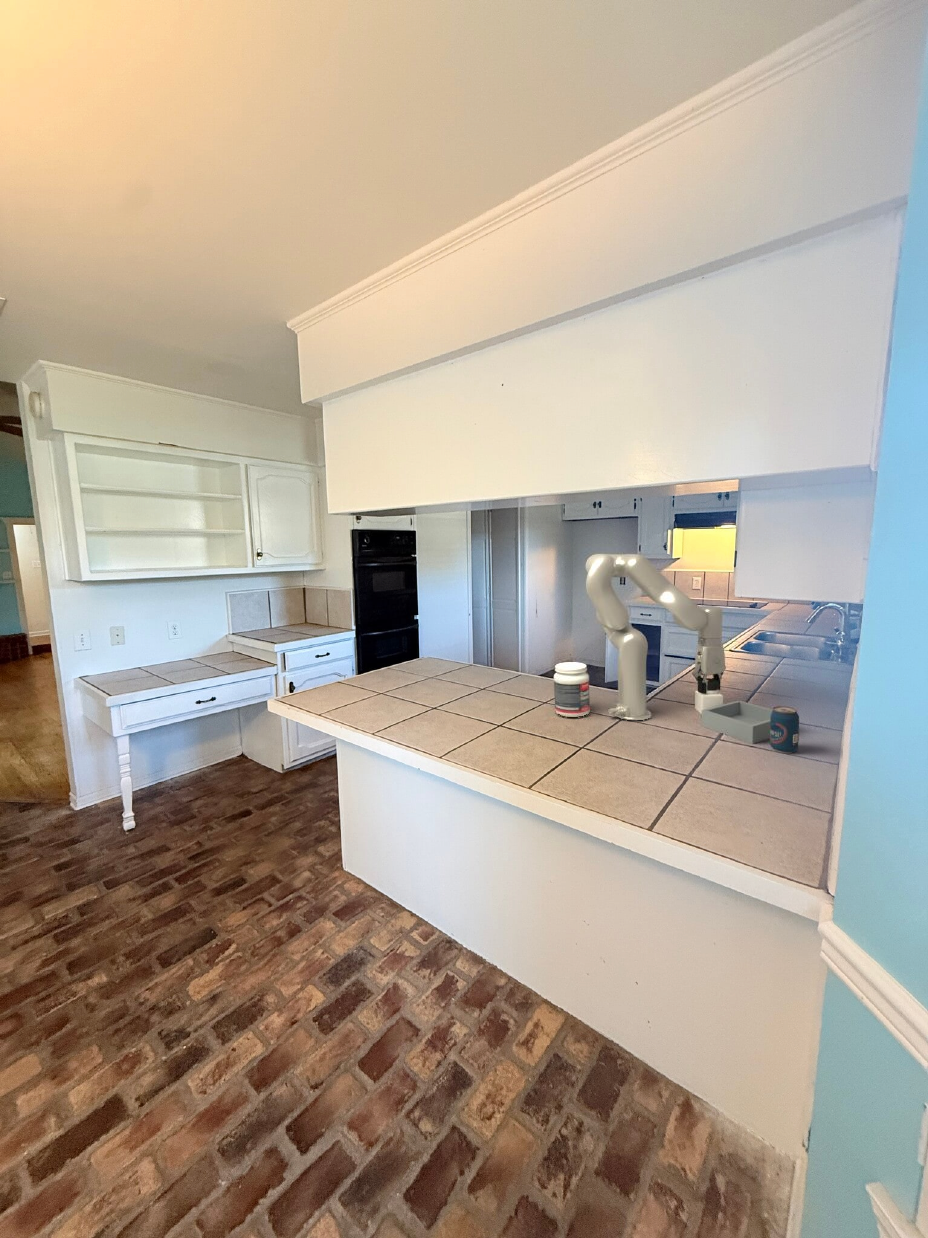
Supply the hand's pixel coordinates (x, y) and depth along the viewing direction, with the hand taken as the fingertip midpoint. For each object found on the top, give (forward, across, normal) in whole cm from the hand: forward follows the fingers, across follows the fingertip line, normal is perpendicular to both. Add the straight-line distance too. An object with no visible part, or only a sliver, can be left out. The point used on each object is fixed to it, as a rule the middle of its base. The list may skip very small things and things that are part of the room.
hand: (708, 690), depth 174 cm
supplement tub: (+9, -40, +26) cm, 49 cm away
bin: (+8, -4, -17) cm, 19 cm away
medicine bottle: (+8, 0, 0) cm, 8 cm away
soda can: (+8, -9, -33) cm, 35 cm away
